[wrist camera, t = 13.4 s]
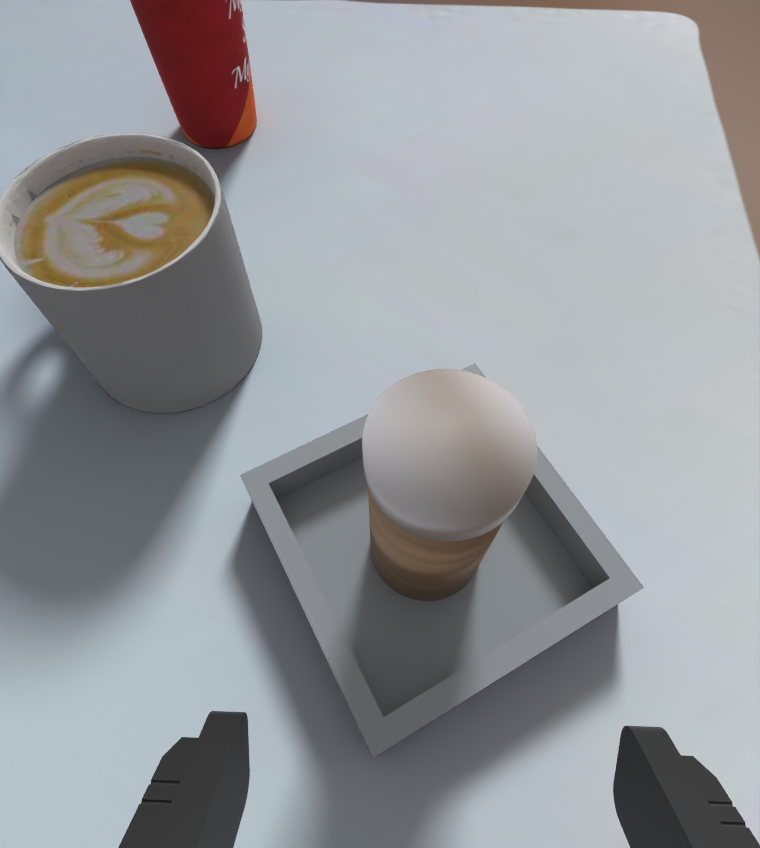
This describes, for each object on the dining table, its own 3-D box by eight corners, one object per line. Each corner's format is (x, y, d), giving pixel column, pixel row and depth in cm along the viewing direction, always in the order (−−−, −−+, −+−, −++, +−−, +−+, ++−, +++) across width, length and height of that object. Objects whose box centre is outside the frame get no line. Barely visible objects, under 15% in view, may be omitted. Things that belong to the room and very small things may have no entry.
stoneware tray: (374, 755, 24) (373, 758, 22) (252, 498, 30) (240, 475, 27) (618, 601, 27) (644, 587, 25) (467, 393, 33) (475, 363, 30)
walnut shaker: (404, 625, 26) (418, 559, 16) (348, 523, 28) (331, 412, 18) (504, 567, 27) (573, 473, 17) (443, 474, 29) (474, 345, 20)
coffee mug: (296, 340, 34) (267, 203, 26) (156, 447, 31) (67, 333, 22) (164, 225, 39) (101, 76, 30) (29, 308, 36) (-86, 168, 27)
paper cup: (289, 134, 43) (252, -106, 31) (194, 172, 41) (115, -67, 29) (241, 81, 46) (191, -156, 34) (151, 115, 44) (63, -124, 32)
